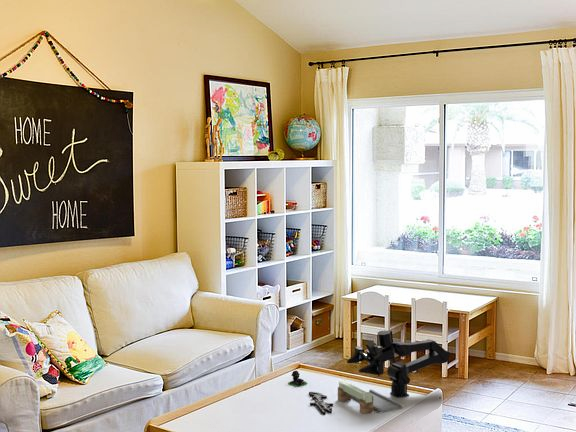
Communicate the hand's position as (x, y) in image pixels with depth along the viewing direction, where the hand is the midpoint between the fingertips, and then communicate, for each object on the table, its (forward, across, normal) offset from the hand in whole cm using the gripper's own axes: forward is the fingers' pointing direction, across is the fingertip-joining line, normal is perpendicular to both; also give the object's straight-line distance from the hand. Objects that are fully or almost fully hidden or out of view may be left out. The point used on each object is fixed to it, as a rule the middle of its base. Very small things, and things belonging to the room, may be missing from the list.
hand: (353, 366), depth 317 cm
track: (-7, +6, +18) cm, 20 cm away
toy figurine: (+10, -34, +23) cm, 42 cm away
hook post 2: (+4, +15, +14) cm, 21 cm away
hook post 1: (+4, -3, +18) cm, 18 cm away
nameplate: (+15, -4, +16) cm, 23 cm away
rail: (+3, +5, +11) cm, 12 cm away
